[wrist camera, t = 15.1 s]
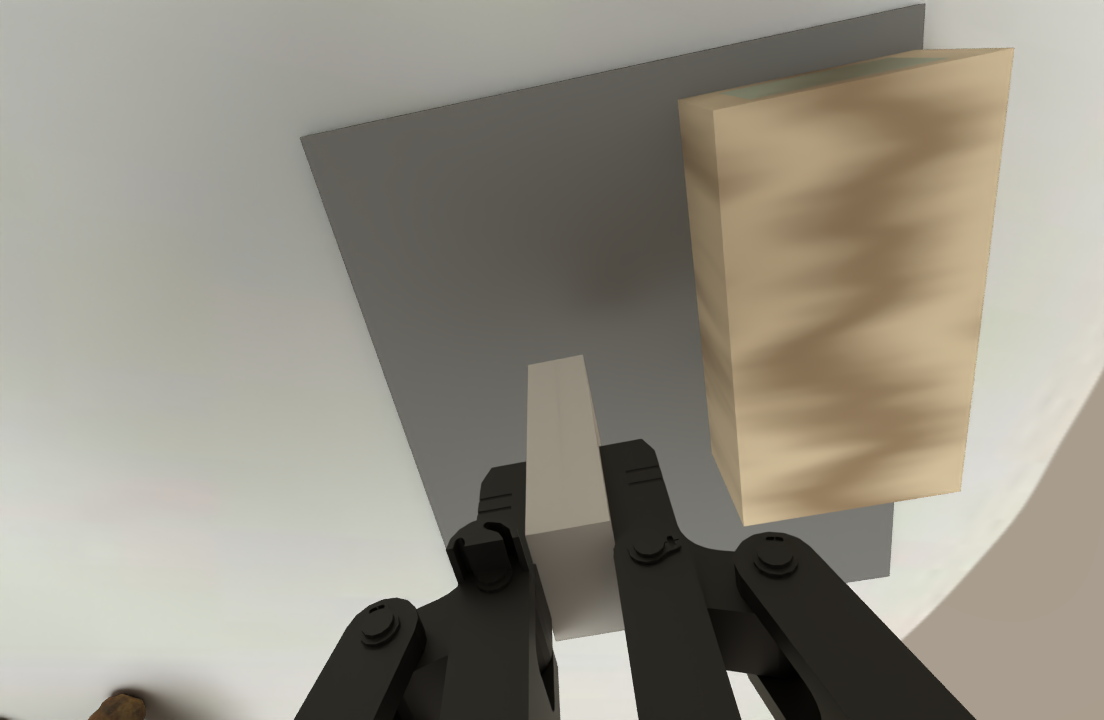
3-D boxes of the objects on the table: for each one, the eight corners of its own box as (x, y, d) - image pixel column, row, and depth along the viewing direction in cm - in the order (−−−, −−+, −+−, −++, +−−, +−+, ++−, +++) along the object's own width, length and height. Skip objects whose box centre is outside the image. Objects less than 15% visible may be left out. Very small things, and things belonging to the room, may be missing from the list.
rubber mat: (303, 136, 21) (299, 137, 20) (918, 4, 19) (925, 3, 19) (479, 632, 31) (478, 639, 31) (885, 569, 30) (889, 576, 29)
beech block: (743, 526, 22) (713, 110, 16) (712, 453, 26) (677, 99, 20) (960, 491, 21) (1014, 47, 15) (893, 422, 25) (915, 50, 19)
